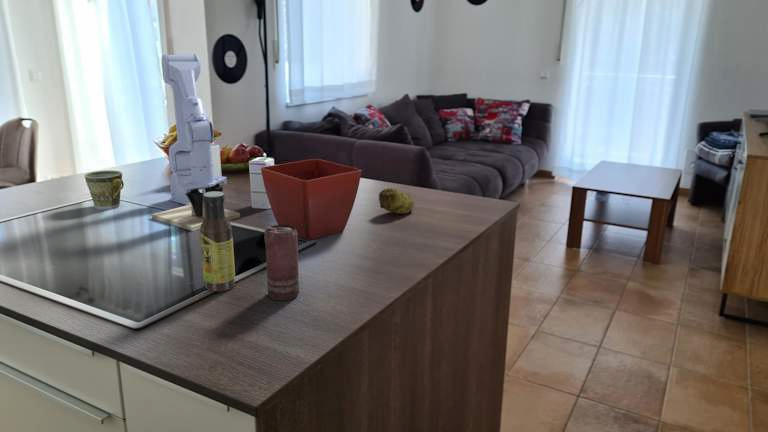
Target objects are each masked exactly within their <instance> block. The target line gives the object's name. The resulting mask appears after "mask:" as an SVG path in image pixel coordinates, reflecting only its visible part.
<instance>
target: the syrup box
mask: <svg viewBox="0 0 768 432" xmlns="http://www.w3.org/2000/svg"><path fill="white" fill-rule="evenodd" d="M273 165H275V159H274V157H265V156H264V157H263V156H262V157H259V156H258V157H256V158H254V159H252V160H249V161H248V167H249V168H248V169H249V184H250V185H249V186H250V198H251V208H253V209H259V210H260V209H262V210H263V209H264V210H270V209H271V206H270V203H269V200H268V197H267V194H266V190H265V186H264V182H263V177H262V172H261V168H262V167H267V166H273Z"/></svg>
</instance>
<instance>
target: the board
mask: <svg viewBox="0 0 768 432" xmlns="http://www.w3.org/2000/svg"><path fill="white" fill-rule="evenodd" d="M224 211H225V217H226V218H227V219H228V221H229V222H230V221H231V220H235V219H238V218H240V217H241V213H240V212H237V211H233V210H230V209H226V208H224ZM151 219H153V220H156V221H159V222H162V223H165V224H168V225H172V226H175V227H178V228H182V229H185V230H188V231H191V232H194V231H198V230H200V227H201V224H202V222H203V221H204V219H202V218H198V217H195V216H192V211H191V204H190V205H184V206H180V207H179V206H178V207H176V208H170V209H168V210H163V211H159V212H156V213H151Z"/></svg>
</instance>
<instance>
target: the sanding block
mask: <svg viewBox="0 0 768 432" xmlns="http://www.w3.org/2000/svg"><path fill="white" fill-rule="evenodd" d="M190 205H191V211H192V216H195V217H198V218H202V219H205V205H204V202H203V201H202V209H203V214H202V216H201V217H199V216H196V215H195V211H194V209H193V206H192V204H190Z"/></svg>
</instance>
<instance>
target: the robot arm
mask: <svg viewBox="0 0 768 432" xmlns="http://www.w3.org/2000/svg"><path fill="white" fill-rule="evenodd" d="M161 69H162V78H163V82H164V84H167V85H169V86H170V88H171V90H172V96H173V108H174V117H175V127H176V136H177V140H175V142H174V143H172V144H171V145H170V146H169V149H168V162H169V168H170V171H171V172H172V174H171V175H170V178H169V188H170V195H171V197H169V199H168V201H171V202H174V203H175V202H176V203H178V204H182V205H184V206H187V205H191V204H192V206H193V209H194V211H195V215H196V216H199V217H201V216H202V214H203V209H202V201H203V194H204V193H203V190H204V191H205V193H207V192H213V191H217V192H223V191H224V189H223V188H224V187H223V186H221V185H227V184H228V179H227V178H228V177H227V176H222V175H221V177H215V178H214V171H213V157H212V144H213V143H212V142H214V139H215V136H214V135H215V134H214V133H215V132H214V131H215V130H214V126H213V123H212V121H211V120H210V117H208V115H207V112H206V108H205V104H204V101H203V100H202V98H199V97H198V91H197V84H196V83H197V82H198V81H197V80H198V79H199V76H200V74H201V60H200V58H199V56H198V55H197V54H196V53H195V54H166V53H164V54H163V55H162V56H161ZM185 150H190V151H185Z"/></svg>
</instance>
